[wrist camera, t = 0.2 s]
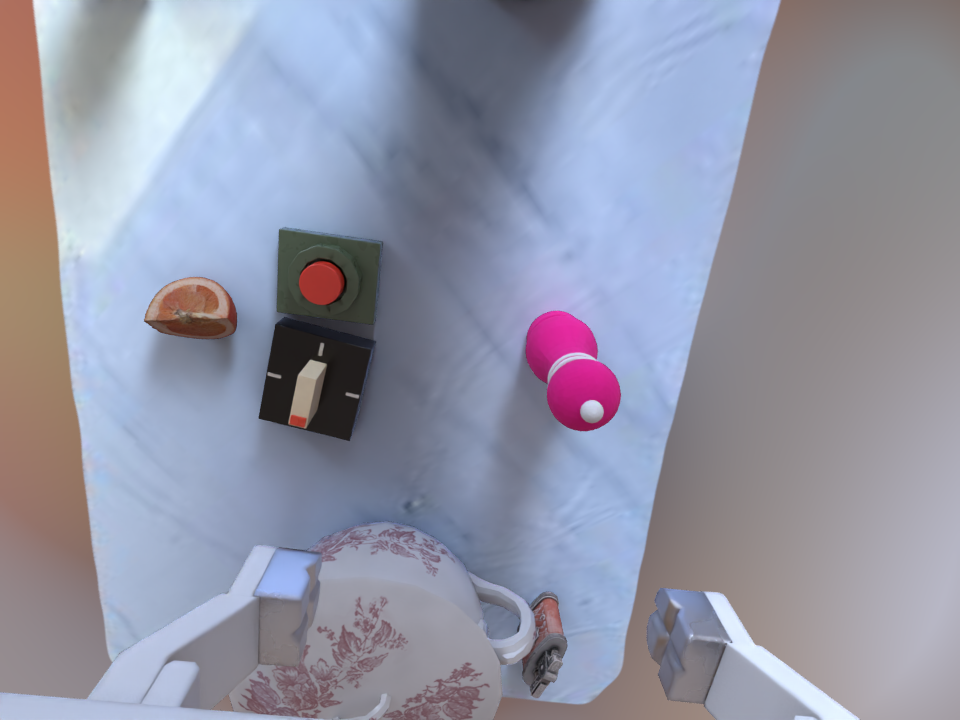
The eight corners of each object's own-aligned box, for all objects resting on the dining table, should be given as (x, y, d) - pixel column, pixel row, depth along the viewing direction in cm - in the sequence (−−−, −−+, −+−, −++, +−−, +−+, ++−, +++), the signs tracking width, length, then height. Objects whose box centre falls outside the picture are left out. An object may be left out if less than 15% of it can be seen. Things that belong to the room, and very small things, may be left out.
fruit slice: (173, 336, 60) (149, 351, 55) (161, 274, 58) (133, 284, 53) (252, 334, 60) (234, 349, 55) (242, 272, 58) (222, 282, 53)
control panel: (284, 316, 60) (274, 324, 57) (376, 341, 61) (371, 350, 58) (267, 407, 63) (257, 419, 60) (354, 428, 64) (349, 441, 61)
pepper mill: (539, 379, 63) (571, 473, 44) (510, 325, 60) (530, 399, 42) (598, 350, 62) (656, 433, 43) (570, 294, 59) (619, 355, 41)
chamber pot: (247, 614, 73) (167, 780, 53) (325, 445, 65) (265, 567, 45) (442, 683, 77) (434, 858, 58) (536, 533, 70) (564, 677, 50)
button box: (281, 308, 59) (270, 316, 56) (284, 227, 56) (272, 231, 53) (376, 320, 60) (370, 329, 57) (382, 241, 57) (377, 246, 54)
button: (303, 298, 56) (298, 302, 54) (304, 258, 54) (299, 261, 53) (343, 303, 56) (339, 307, 54) (345, 264, 55) (342, 267, 53)
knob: (310, 359, 58) (297, 375, 54) (327, 363, 58) (315, 380, 54) (300, 406, 60) (287, 425, 55) (317, 410, 60) (305, 430, 55)
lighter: (541, 588, 72) (552, 651, 63) (563, 597, 73) (578, 661, 63) (511, 631, 75) (518, 699, 65) (534, 640, 75) (543, 708, 66)
